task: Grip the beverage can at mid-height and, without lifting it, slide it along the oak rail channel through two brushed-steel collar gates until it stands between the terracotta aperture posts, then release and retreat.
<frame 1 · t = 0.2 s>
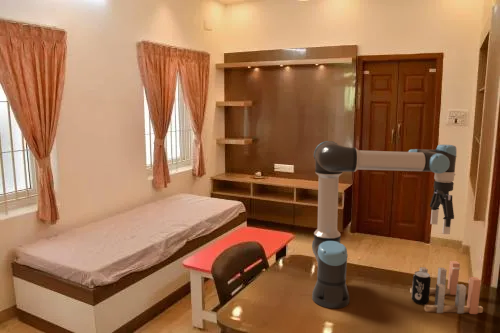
hand: (439, 228, 170), 27 cm above the table, fingers open, 13 cm apart
oak channel: (444, 301, 161), on the table
terracotta aperture: (461, 302, 161), on the table
steel collars: (439, 301, 161), on the table
beverage can: (419, 301, 162), on the table
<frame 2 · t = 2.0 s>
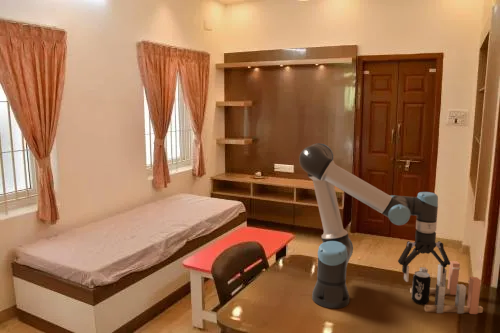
hand: (422, 280, 160), 9 cm above the table, fingers open, 13 cm apart
nothing on the table moved.
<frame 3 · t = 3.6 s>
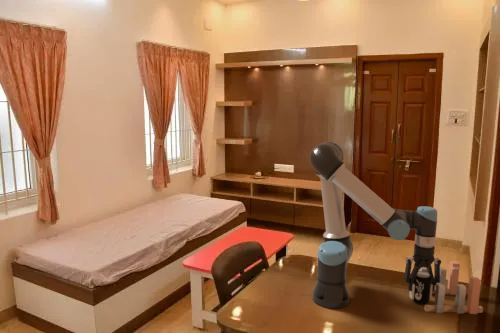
hand: (420, 297, 161), 1 cm above the table, fingers closed on beverage can, 6 cm apart
beverage can: (419, 301, 162), on the table, touching gripper
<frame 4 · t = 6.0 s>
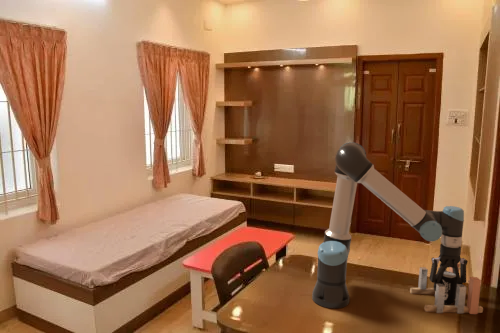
hand: (446, 298, 161), 2 cm above the table, fingers closed on beverage can, 6 cm apart
beverage can: (445, 301, 161), on the table, touching gripper
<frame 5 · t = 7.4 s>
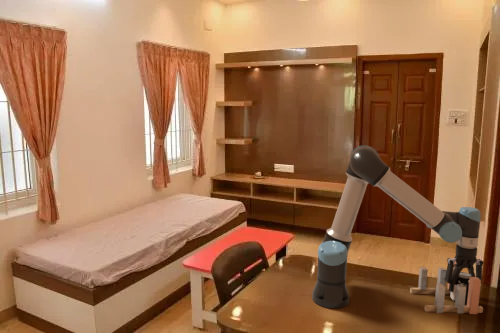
hand: (461, 298, 161), 1 cm above the table, fingers closed on beverage can, 6 cm apart
beverage can: (461, 302, 161), on the table, touching gripper
when the fingers open (1 cm above the table, at t = 8.6 s): beverage can stays where it is, on the table.
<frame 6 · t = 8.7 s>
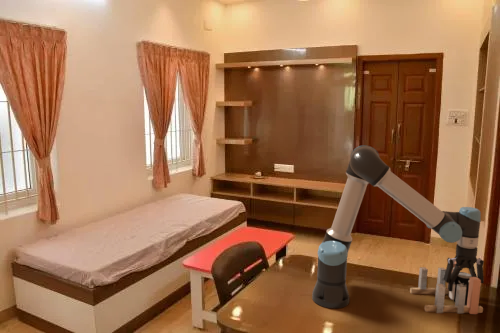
hand: (461, 298, 161), 2 cm above the table, fingers open, 8 cm apart
beverage can: (461, 302, 161), on the table
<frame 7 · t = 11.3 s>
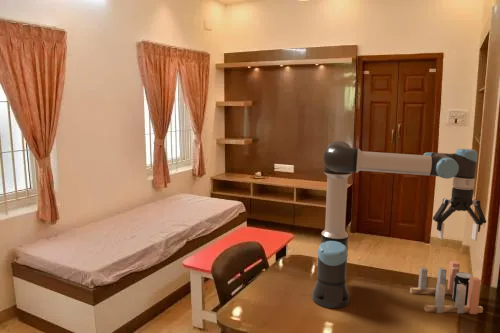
hand: (457, 238, 159), 27 cm above the table, fingers open, 13 cm apart
nothing on the table moved.
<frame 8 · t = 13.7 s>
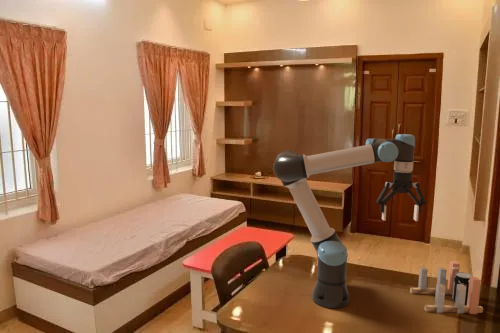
hand: (399, 220, 167), 32 cm above the table, fingers open, 13 cm apart
nothing on the table moved.
at the end: beverage can inside the target area on the terracotta aperture (0.3 cm from its centre), point 0.0 cm above the terracotta aperture's base; beverage can tilted 0° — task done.
